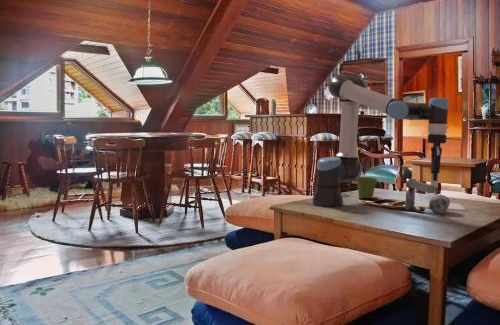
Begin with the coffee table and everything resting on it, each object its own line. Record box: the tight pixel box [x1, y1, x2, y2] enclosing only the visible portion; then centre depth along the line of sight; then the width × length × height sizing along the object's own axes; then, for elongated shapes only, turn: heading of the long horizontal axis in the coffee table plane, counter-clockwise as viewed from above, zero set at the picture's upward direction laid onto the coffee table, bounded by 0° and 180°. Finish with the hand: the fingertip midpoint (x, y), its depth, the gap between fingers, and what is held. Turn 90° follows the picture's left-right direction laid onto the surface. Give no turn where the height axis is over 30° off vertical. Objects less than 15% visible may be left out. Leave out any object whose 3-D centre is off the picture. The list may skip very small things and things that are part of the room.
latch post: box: [404, 186, 416, 212], centre depth 215 cm, size 4×4×11 cm
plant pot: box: [356, 176, 379, 199], centre depth 248 cm, size 12×12×11 cm
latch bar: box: [405, 178, 436, 194], centre depth 205 cm, size 24×4×4 cm, turn 2°
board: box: [414, 200, 466, 212], centre depth 227 cm, size 22×17×1 cm
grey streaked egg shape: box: [428, 194, 451, 215], centre depth 212 cm, size 14×10×10 cm
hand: (434, 187), depth 197 cm, fingers closed
